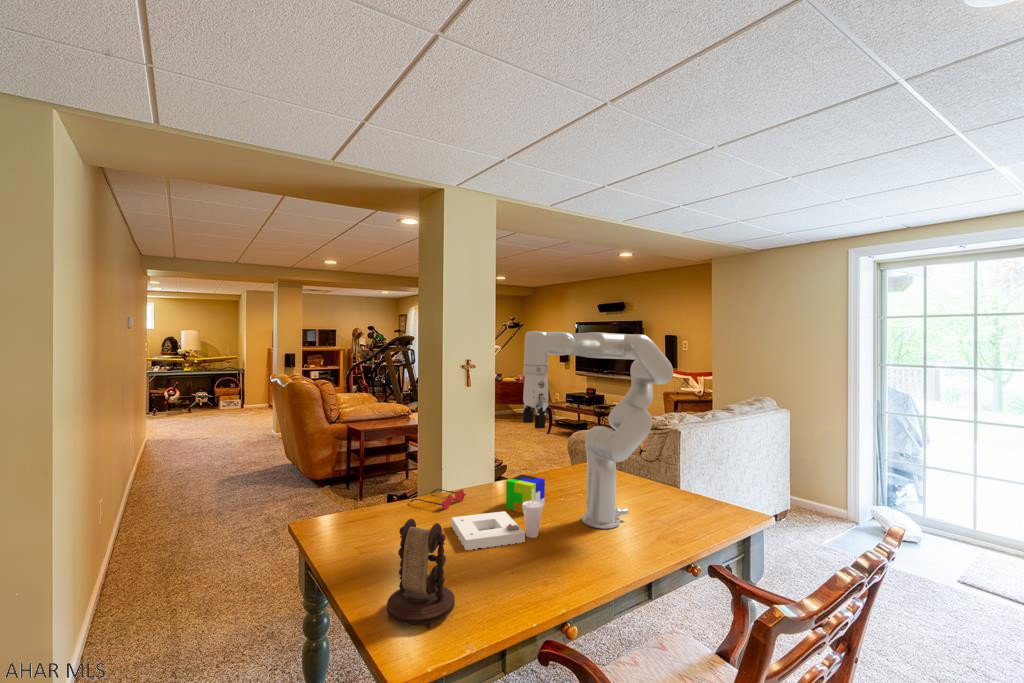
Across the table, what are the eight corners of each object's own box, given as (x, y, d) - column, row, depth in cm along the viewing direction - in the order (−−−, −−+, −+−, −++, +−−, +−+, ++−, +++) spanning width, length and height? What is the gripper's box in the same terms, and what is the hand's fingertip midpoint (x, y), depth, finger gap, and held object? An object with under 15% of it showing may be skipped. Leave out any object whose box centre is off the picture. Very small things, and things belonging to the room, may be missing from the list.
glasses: (444, 513, 166) (444, 498, 166) (407, 504, 174) (407, 490, 174) (466, 501, 179) (466, 487, 179) (430, 493, 186) (431, 481, 186)
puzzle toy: (544, 506, 174) (544, 479, 173) (530, 515, 165) (530, 486, 165) (520, 501, 179) (521, 474, 179) (506, 509, 170) (506, 480, 170)
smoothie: (544, 532, 150) (545, 488, 150) (539, 541, 144) (539, 494, 144) (525, 529, 152) (525, 485, 152) (518, 537, 146) (519, 491, 146)
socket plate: (504, 520, 160) (504, 509, 160) (524, 542, 143) (524, 530, 143) (451, 526, 154) (451, 515, 154) (465, 550, 137) (466, 538, 137)
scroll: (372, 622, 102) (373, 528, 102) (410, 588, 116) (412, 506, 116) (433, 638, 97) (434, 540, 97) (465, 601, 111) (467, 515, 110)
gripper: (558, 372, 143) (556, 430, 143) (536, 368, 159) (534, 420, 160) (535, 372, 141) (532, 430, 141) (515, 368, 157) (513, 420, 157)
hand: (533, 425), depth 150 cm, fingers open, 9 cm apart
